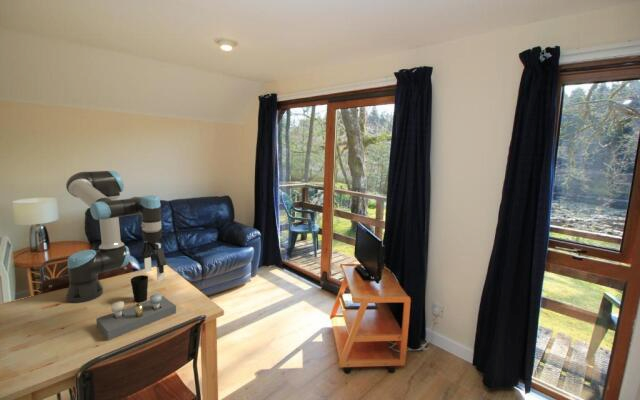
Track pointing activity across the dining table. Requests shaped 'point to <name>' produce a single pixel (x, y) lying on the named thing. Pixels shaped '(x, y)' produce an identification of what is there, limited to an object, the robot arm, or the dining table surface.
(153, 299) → the knob
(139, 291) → the cup
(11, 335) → the dining table surface
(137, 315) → the trim post
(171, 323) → the dining table surface
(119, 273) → the dining table surface
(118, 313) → the knob
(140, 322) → the panel
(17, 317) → the dining table surface
